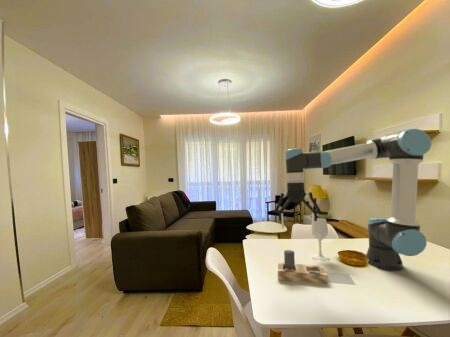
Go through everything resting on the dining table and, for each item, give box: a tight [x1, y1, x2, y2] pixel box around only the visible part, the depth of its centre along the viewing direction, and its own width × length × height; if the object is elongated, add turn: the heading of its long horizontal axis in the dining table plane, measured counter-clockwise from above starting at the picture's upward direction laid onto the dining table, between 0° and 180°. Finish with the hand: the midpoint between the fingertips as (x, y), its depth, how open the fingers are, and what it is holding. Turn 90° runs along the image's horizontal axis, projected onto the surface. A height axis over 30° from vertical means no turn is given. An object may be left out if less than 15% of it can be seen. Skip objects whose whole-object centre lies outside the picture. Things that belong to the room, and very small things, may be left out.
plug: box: [283, 249, 296, 270], centre depth 99 cm, size 4×4×11 cm
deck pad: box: [326, 271, 356, 286], centre depth 96 cm, size 10×10×1 cm
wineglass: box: [311, 217, 330, 261], centre depth 119 cm, size 9×9×21 cm
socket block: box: [277, 262, 328, 285], centre depth 98 cm, size 20×9×5 cm, turn 76°
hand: (298, 228), depth 101 cm, fingers open, 13 cm apart
